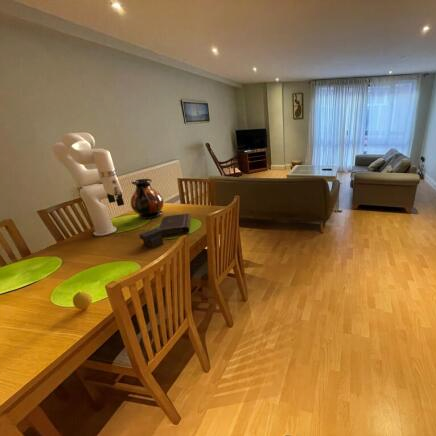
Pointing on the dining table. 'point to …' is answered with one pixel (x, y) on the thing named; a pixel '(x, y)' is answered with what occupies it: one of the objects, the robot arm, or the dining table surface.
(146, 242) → the pad base
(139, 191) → the amphora vase
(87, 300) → the brown egg shape
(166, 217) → the diary
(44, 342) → the dining table surface
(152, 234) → the pad top
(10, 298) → the dining table surface
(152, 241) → the pad mid
